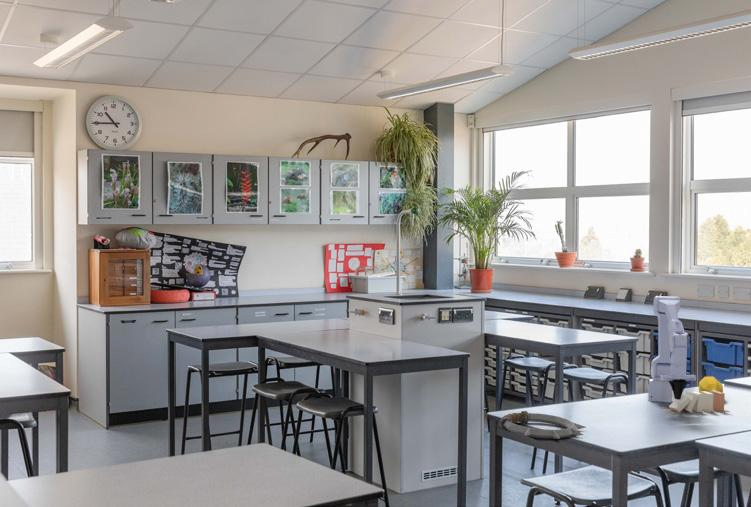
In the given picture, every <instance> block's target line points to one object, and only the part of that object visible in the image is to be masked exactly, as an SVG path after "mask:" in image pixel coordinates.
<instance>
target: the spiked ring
mask: <svg viewBox="0 0 751 507" xmlns="http://www.w3.org/2000/svg"><path fill="white" fill-rule="evenodd" d="M529 422H531V423H532V422H533V423H543V424H549V425H554V424H555V426H559V427H562V429H561V428H560V429H547V428H544V429H543V428H534V427H528V426H524V425H519V424H517V423H522V424H528V423H529ZM498 426H499V428H500V429H501V430H503V431H508V432H510V433H513V434H515V435H520V436H523V437H528V438H535V439H554V440H556V439H564V438H569V437H576V436H577V437H578V436H584V434H583V433H581V432H579V430H581V429H585V428H587V427H586V426H585V425H581V424H578V423H575V422H573V421H571V420H569V419H567V418H564V417H560V416H556V415H552V414H545V413H539V412H538V413H534V412H533V413H532V412H528V411H527V410H521V412H512V413H508V414H506V415H504V416H502V417H501V418H500V419H499V421H498Z"/></svg>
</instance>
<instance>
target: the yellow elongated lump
mask: <svg viewBox="0 0 751 507" xmlns="http://www.w3.org/2000/svg"><path fill="white" fill-rule="evenodd" d="M701 391H706V392H709V393H712V391H718V392H721V393H724V388H723V384H722V382H720V381H719V380H718V379H717V378H716V377H715V376H704V377H703V378H702V379H701V380H700V381H699V382H698V393H701Z"/></svg>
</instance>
